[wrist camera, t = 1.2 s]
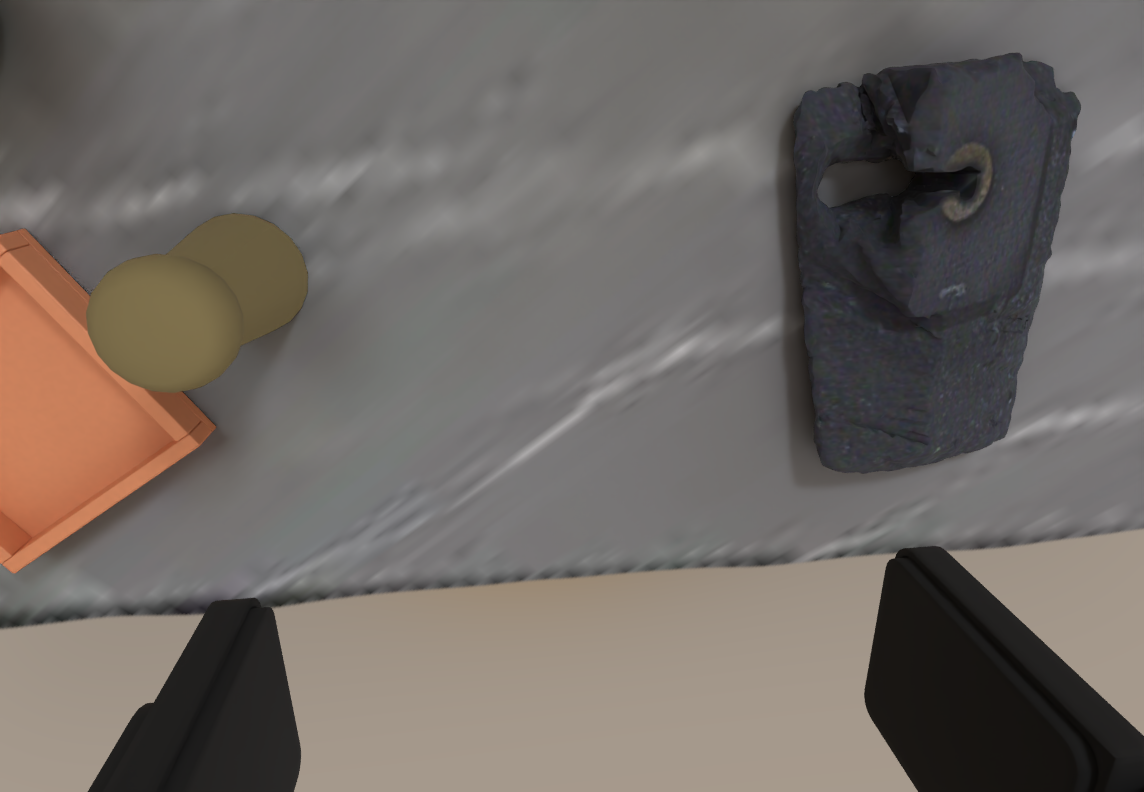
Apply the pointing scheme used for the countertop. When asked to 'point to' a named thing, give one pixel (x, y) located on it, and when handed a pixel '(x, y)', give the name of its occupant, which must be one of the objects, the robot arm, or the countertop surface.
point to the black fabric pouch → (927, 254)
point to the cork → (196, 303)
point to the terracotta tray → (69, 411)
